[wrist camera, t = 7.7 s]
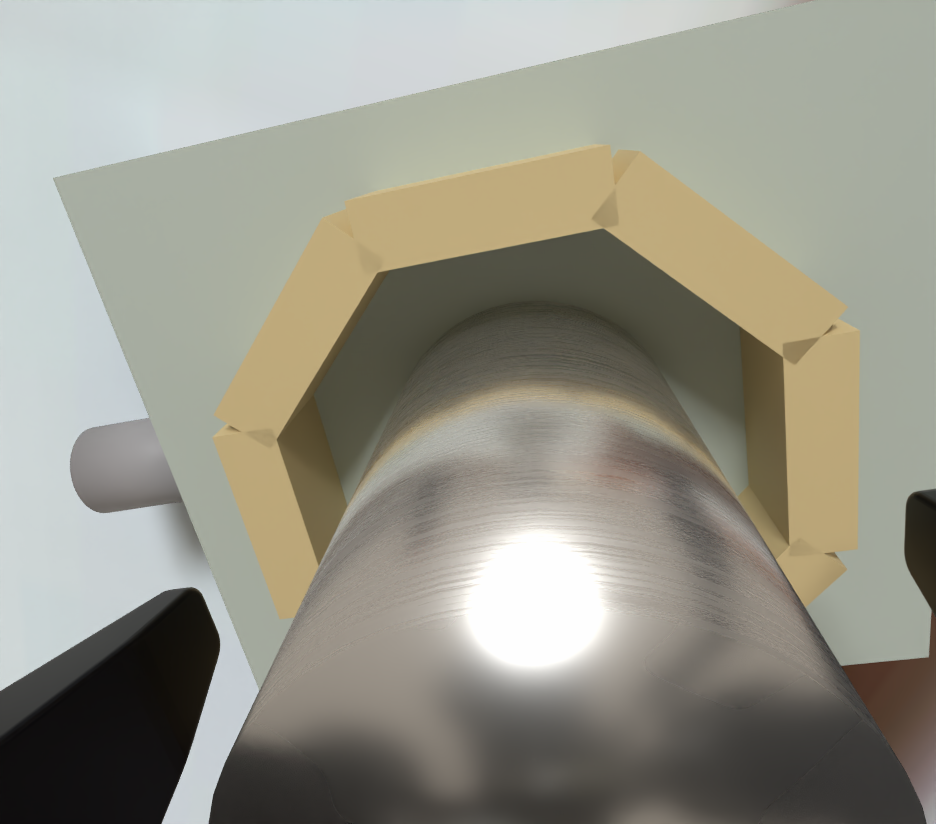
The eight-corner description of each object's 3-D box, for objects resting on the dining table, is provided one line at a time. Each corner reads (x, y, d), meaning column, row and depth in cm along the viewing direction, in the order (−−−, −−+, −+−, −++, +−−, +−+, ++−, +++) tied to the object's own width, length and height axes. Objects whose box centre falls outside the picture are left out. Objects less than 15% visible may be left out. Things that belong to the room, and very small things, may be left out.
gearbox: (838, 16, 13) (1083, -81, 7) (839, 544, 17) (994, 740, 11) (49, 197, 15) (-223, 228, 10) (223, 620, 19) (103, 812, 14)
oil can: (659, 275, 11) (1351, 932, 2) (685, 535, 13) (1098, 1521, 4) (368, 328, 12) (-177, 993, 3) (430, 567, 13) (240, 1462, 4)
